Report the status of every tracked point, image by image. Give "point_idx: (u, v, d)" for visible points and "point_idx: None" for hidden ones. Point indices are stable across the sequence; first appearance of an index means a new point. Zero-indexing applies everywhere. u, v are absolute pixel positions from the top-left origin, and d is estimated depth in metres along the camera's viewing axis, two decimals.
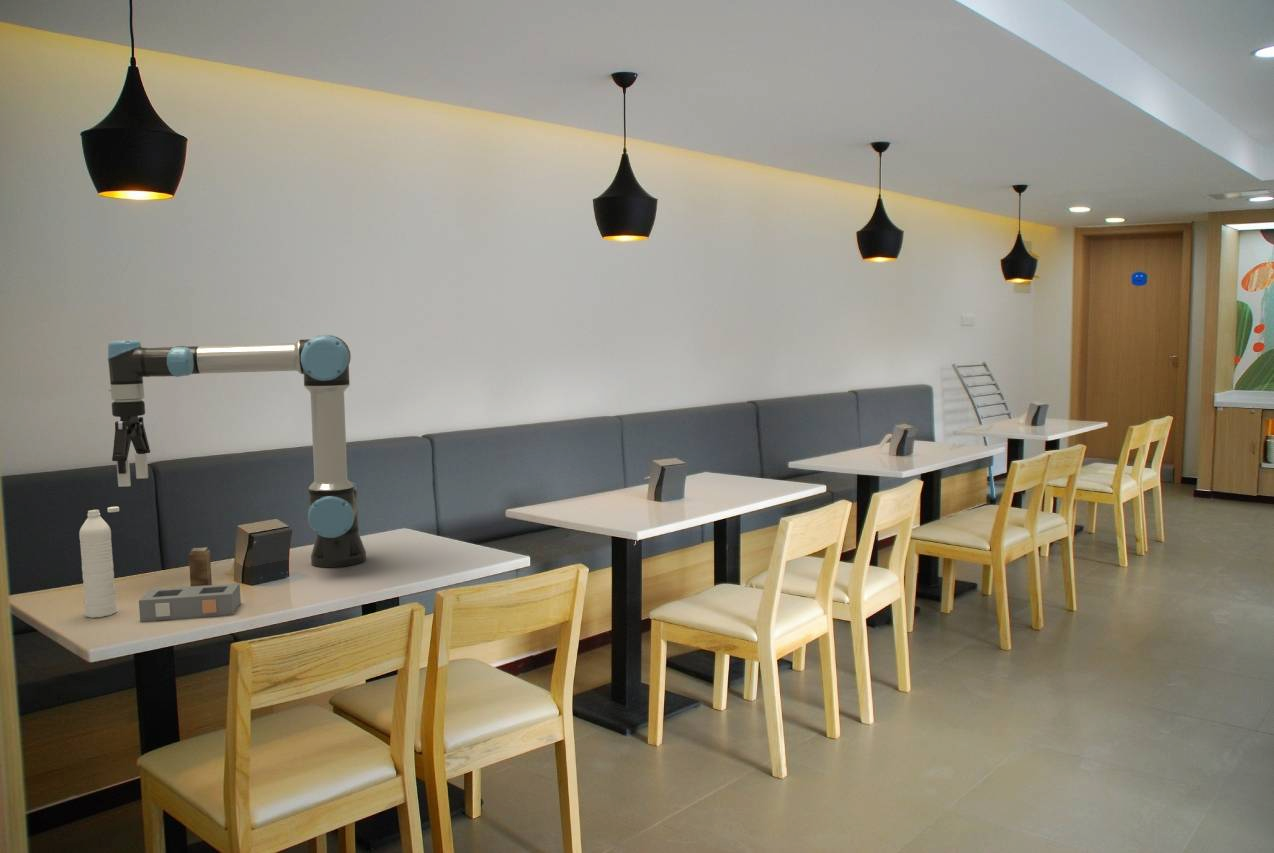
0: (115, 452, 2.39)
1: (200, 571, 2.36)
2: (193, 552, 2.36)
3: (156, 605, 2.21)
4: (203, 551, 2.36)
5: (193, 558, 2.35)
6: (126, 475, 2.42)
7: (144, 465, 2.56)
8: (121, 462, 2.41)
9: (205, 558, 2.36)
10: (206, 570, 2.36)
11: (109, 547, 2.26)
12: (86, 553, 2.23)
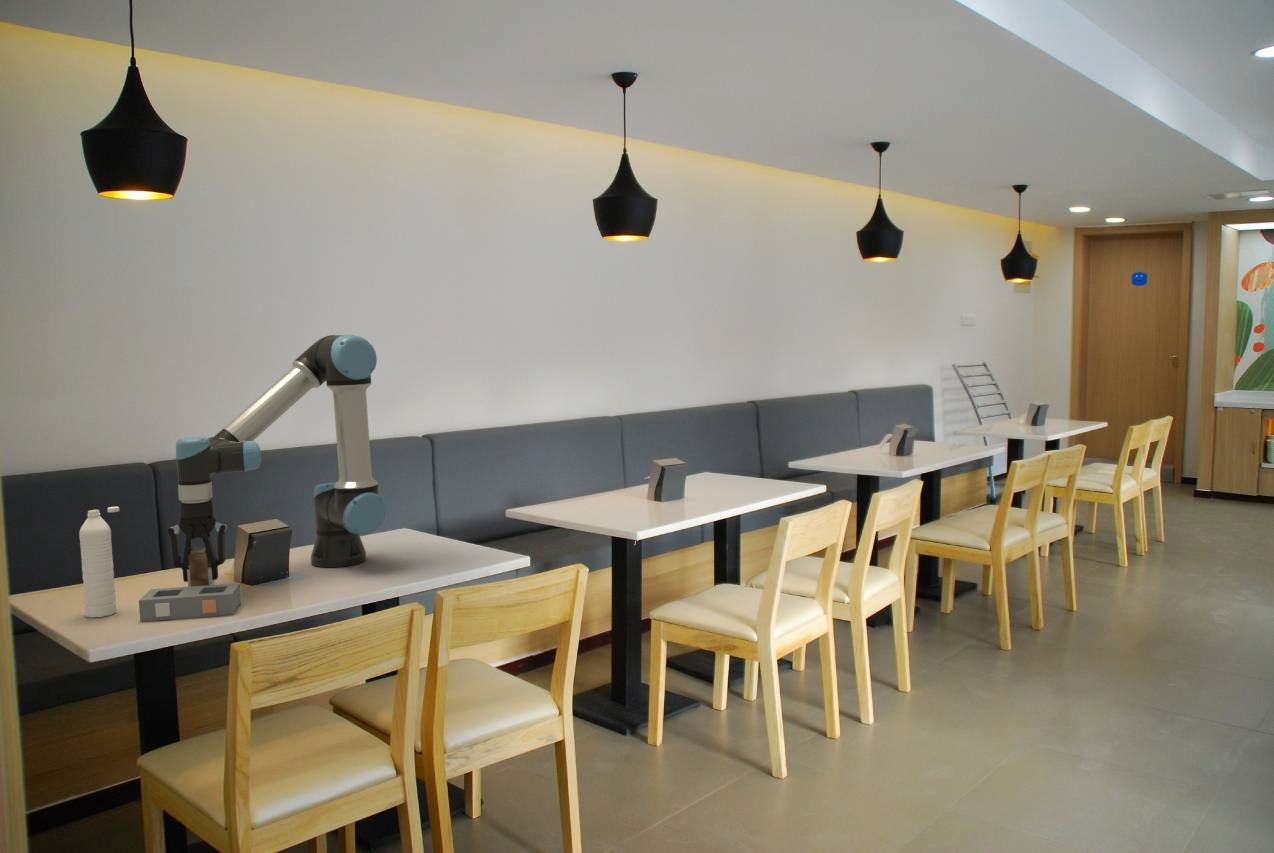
0: None
1: (200, 571, 2.36)
2: (193, 552, 2.36)
3: (156, 605, 2.21)
4: (203, 551, 2.36)
5: (193, 558, 2.35)
6: None
7: None
8: None
9: (205, 558, 2.36)
10: (206, 570, 2.36)
11: (109, 547, 2.26)
12: (86, 553, 2.23)
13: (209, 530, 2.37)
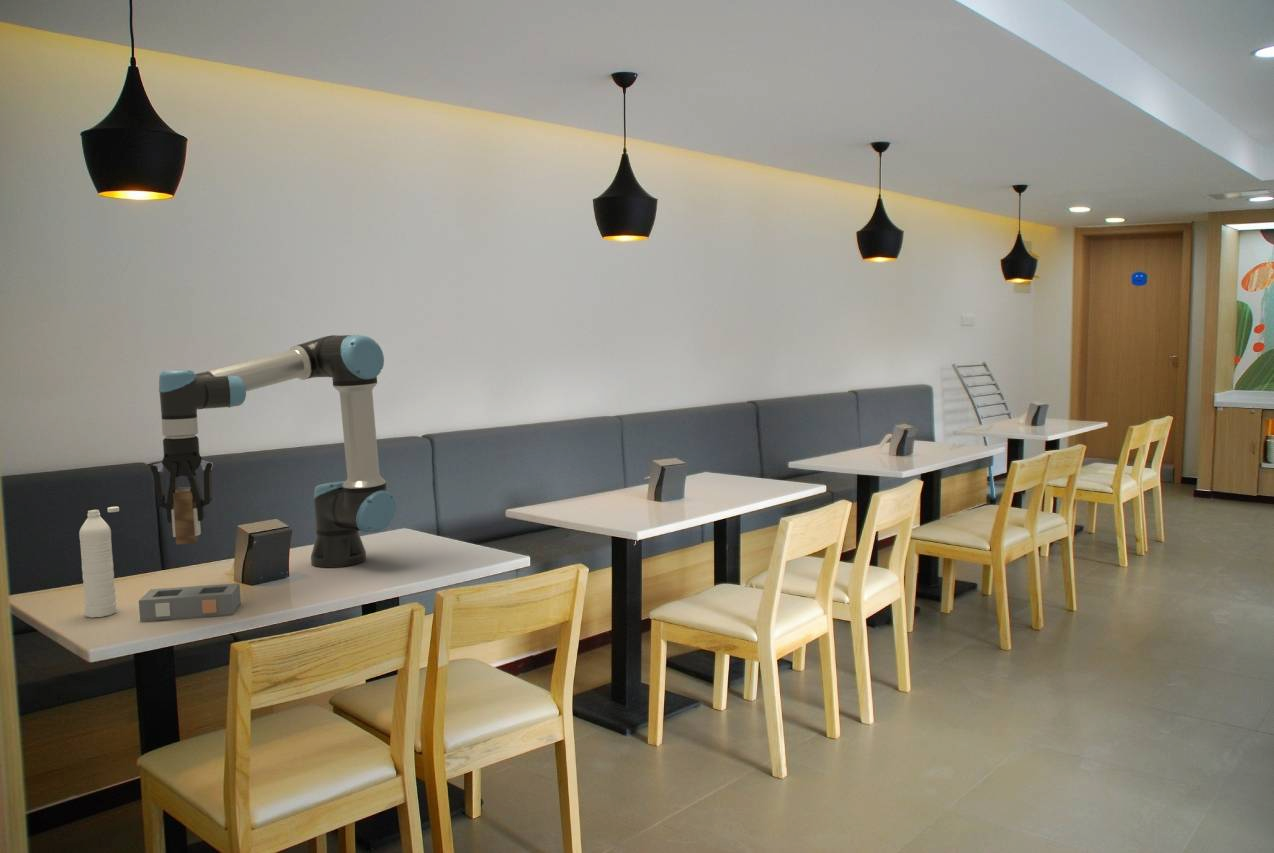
0: None
1: (185, 511, 2.24)
2: (177, 491, 2.23)
3: (156, 605, 2.21)
4: (188, 490, 2.24)
5: (177, 497, 2.23)
6: None
7: None
8: None
9: (190, 497, 2.24)
10: (191, 510, 2.24)
11: (109, 547, 2.26)
12: (86, 553, 2.23)
13: (194, 468, 2.24)
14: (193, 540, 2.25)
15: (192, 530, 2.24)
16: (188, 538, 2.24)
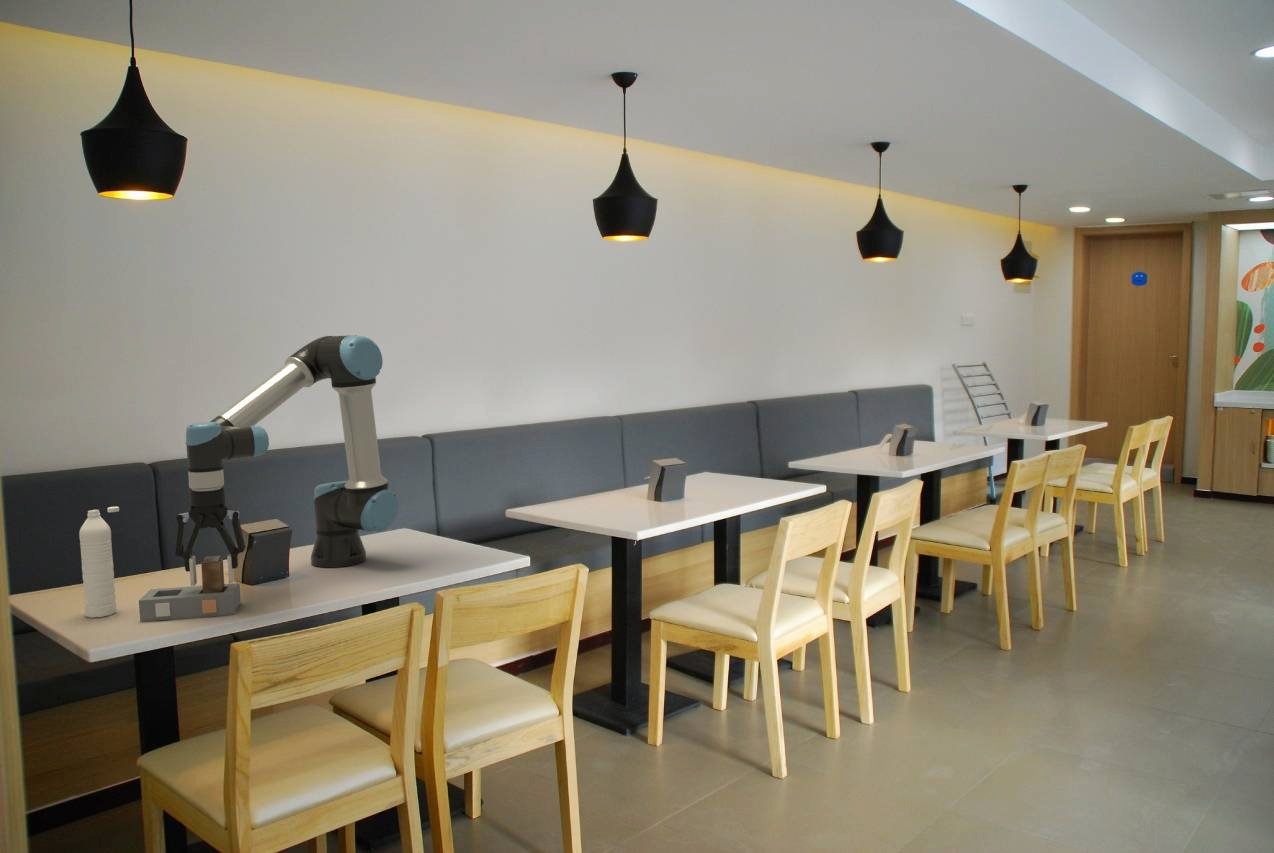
0: None
1: (213, 580, 2.26)
2: (206, 561, 2.26)
3: (156, 605, 2.21)
4: (216, 560, 2.26)
5: (206, 567, 2.26)
6: None
7: None
8: None
9: (218, 567, 2.26)
10: (219, 580, 2.27)
11: (109, 547, 2.26)
12: (86, 553, 2.23)
13: (221, 519, 2.26)
14: None
15: None
16: None
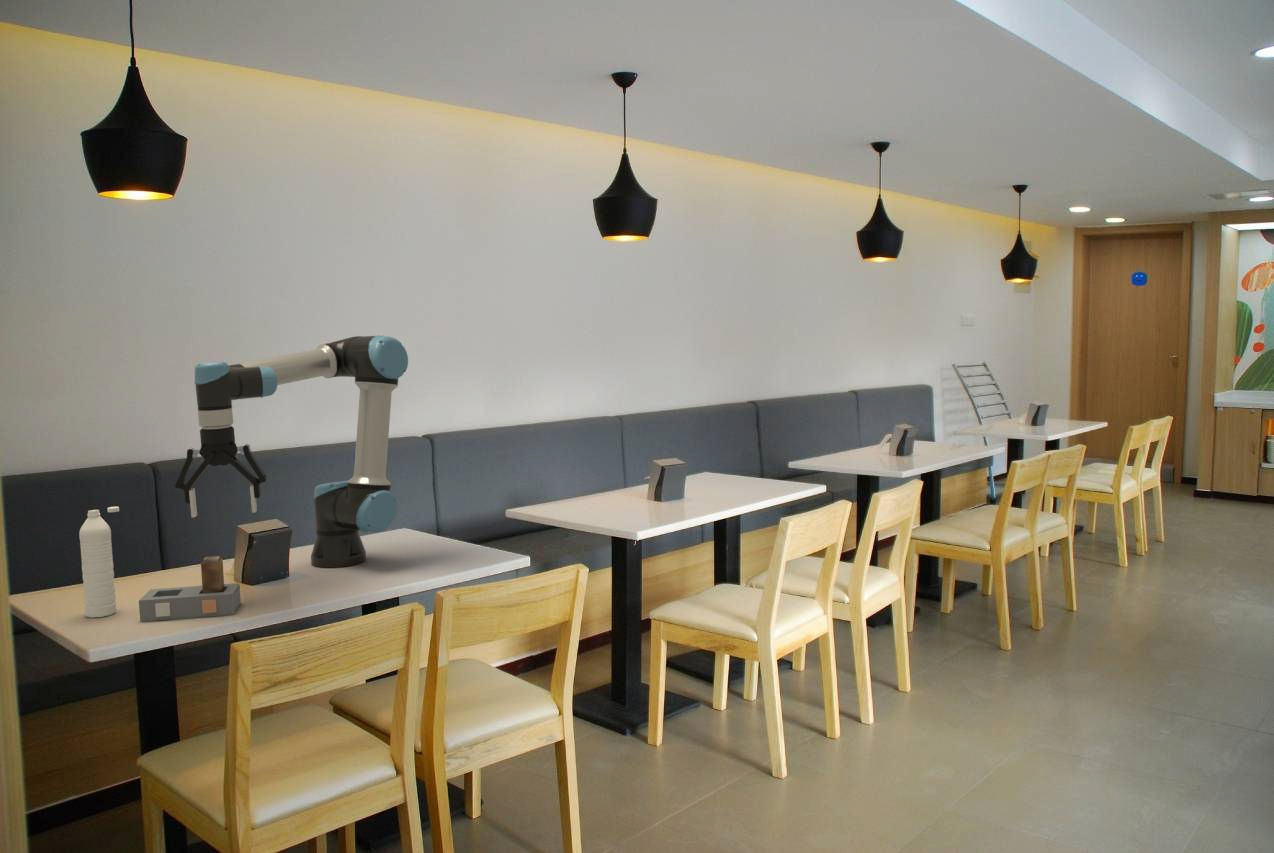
0: None
1: (213, 580, 2.26)
2: (205, 561, 2.26)
3: (156, 605, 2.21)
4: (216, 560, 2.26)
5: (205, 567, 2.26)
6: None
7: (251, 498, 2.33)
8: None
9: (218, 567, 2.26)
10: (219, 580, 2.27)
11: (109, 547, 2.26)
12: (86, 553, 2.23)
13: (231, 457, 2.30)
14: None
15: None
16: None
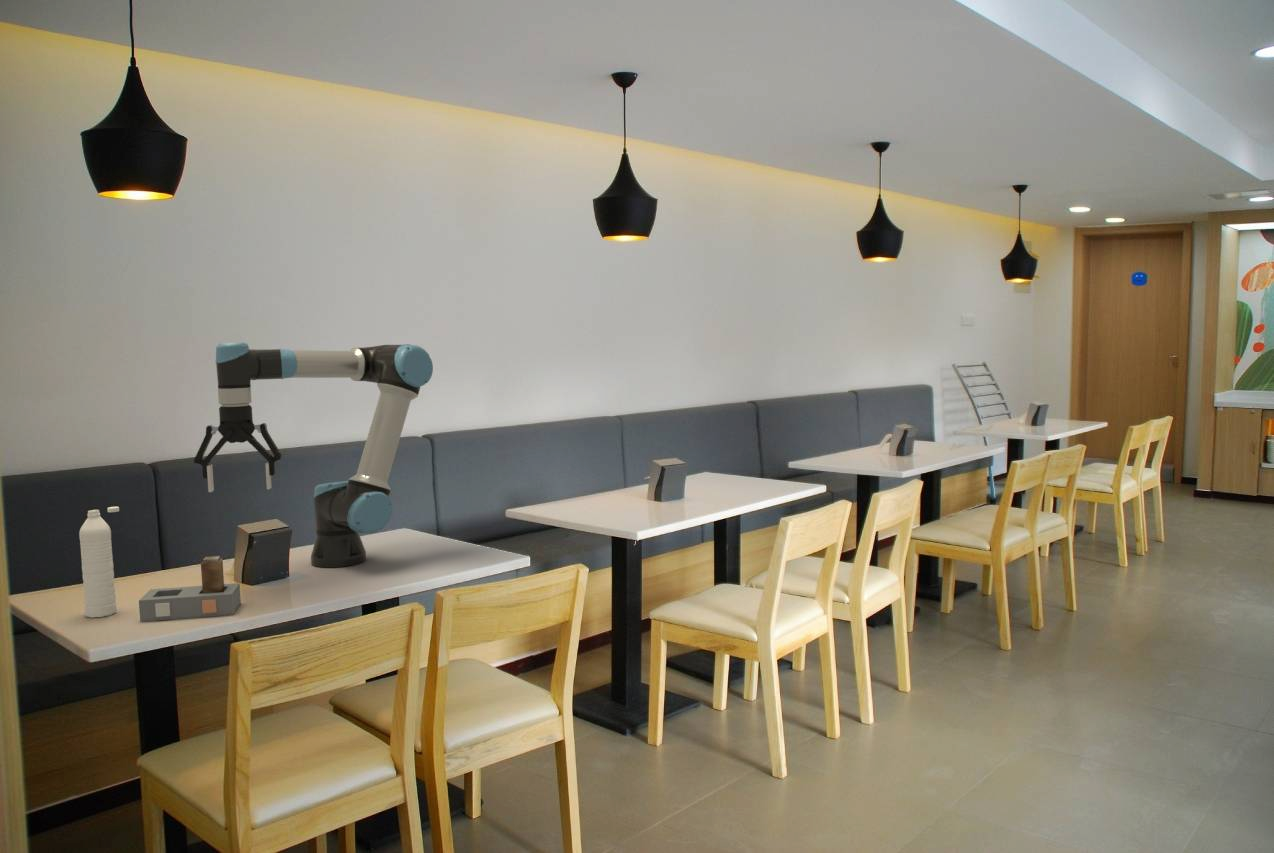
0: None
1: (213, 580, 2.26)
2: (205, 561, 2.26)
3: (156, 605, 2.21)
4: (216, 560, 2.26)
5: (205, 567, 2.26)
6: None
7: (266, 475, 2.40)
8: None
9: (218, 567, 2.26)
10: (219, 580, 2.27)
11: (109, 547, 2.26)
12: (86, 553, 2.23)
13: (248, 435, 2.38)
14: None
15: None
16: None
